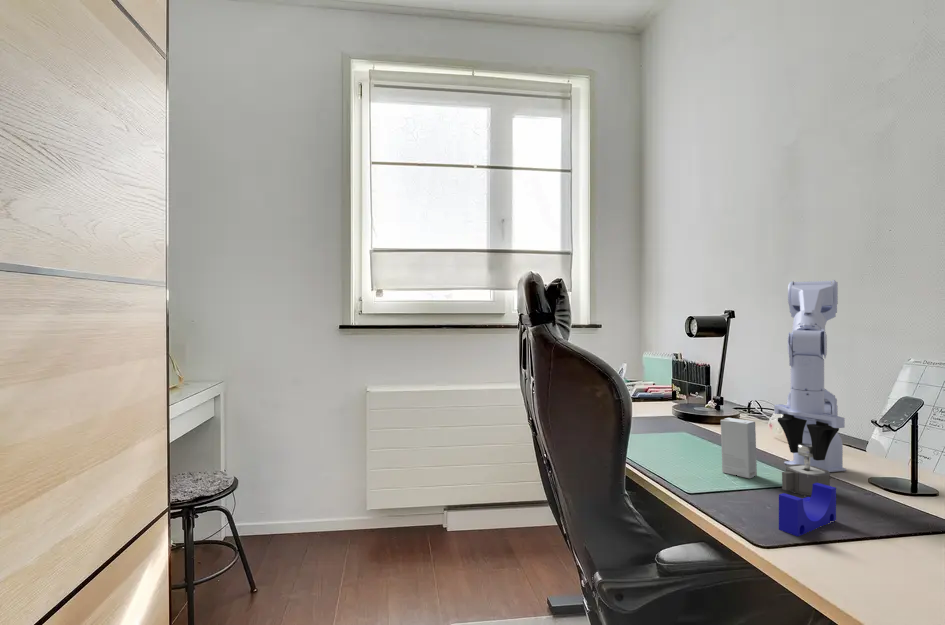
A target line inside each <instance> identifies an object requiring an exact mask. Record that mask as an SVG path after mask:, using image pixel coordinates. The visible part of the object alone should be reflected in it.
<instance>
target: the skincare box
mask: <svg viewBox="0 0 945 625" xmlns="http://www.w3.org/2000/svg"><path fill="white" fill-rule="evenodd" d="M756 433H757V431H756V421H753V420H748V419H747V420H746V419H739V418H734V417H733V418H732V417H726V418H722V419H720V437H721V438H720V441H721V444H720V445H721V470H722V471H721V472H722V473H725V474H728V475H732V476H736V475H737V477H741V478H744V479H745V478H746V479H752V478H754V476H755V477H756V476H757V475H758V470H757V468H758V467H757V465H758V464H757V462H758V461H757V437H756V435H757V434H756Z"/></svg>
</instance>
